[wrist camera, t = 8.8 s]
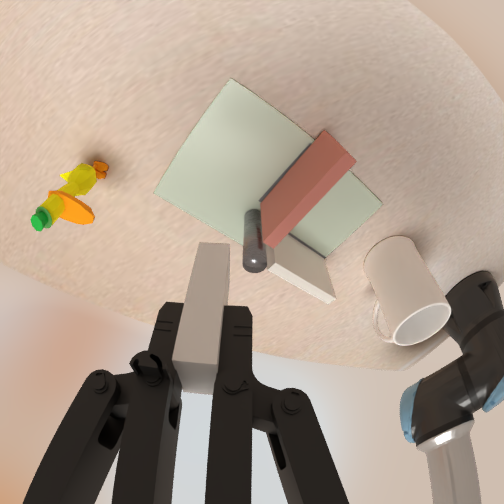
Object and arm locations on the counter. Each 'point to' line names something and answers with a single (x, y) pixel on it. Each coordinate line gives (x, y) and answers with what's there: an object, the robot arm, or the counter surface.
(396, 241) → the mug
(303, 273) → the fixed panel
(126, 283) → the counter surface
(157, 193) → the card
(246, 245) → the post
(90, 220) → the toy figure
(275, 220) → the red panel
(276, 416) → the robot arm
